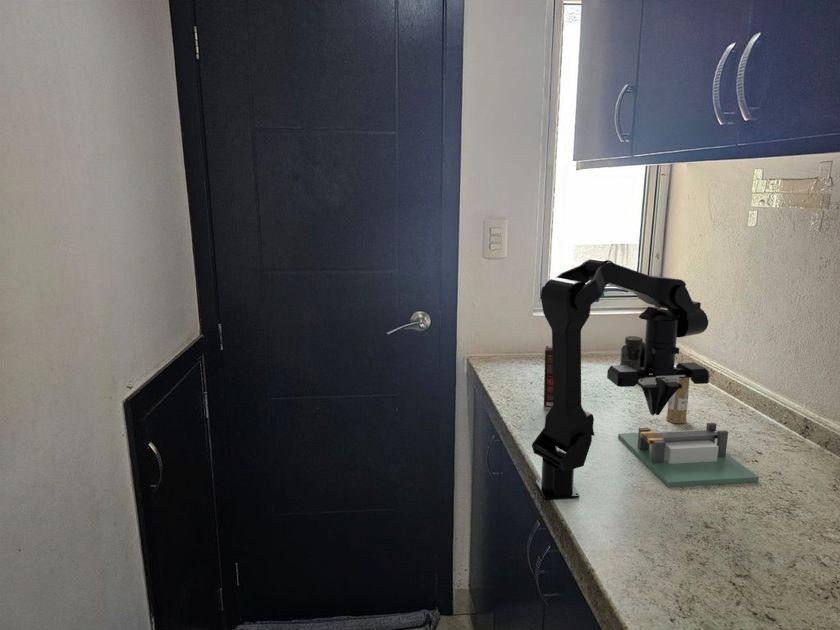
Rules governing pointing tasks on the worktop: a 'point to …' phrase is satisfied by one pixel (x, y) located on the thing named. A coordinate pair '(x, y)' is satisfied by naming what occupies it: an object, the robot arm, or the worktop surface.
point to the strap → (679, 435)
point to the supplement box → (548, 379)
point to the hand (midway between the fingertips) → (654, 414)
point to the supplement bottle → (637, 343)
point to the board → (691, 469)
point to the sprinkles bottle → (679, 403)
